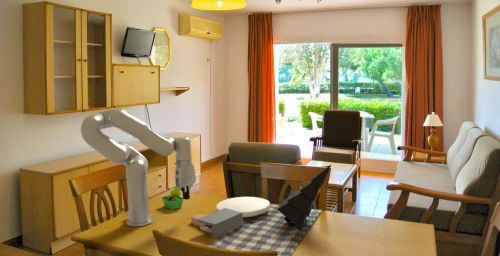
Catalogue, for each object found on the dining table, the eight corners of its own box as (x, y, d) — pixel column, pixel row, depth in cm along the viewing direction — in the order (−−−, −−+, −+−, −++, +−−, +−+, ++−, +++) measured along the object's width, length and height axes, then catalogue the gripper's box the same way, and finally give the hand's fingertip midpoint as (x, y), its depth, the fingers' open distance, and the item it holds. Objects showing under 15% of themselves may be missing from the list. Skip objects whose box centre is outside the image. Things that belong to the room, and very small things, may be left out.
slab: (191, 223, 206) (191, 216, 206) (201, 220, 210) (201, 213, 210) (205, 230, 197) (205, 222, 197) (215, 226, 201) (215, 219, 201)
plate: (210, 211, 208) (219, 195, 234) (212, 224, 209) (221, 207, 235) (267, 206, 205) (270, 191, 231) (269, 219, 206) (271, 202, 232)
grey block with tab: (194, 232, 194) (193, 218, 193) (221, 220, 209) (221, 207, 208) (215, 238, 186) (215, 224, 185) (242, 225, 201) (242, 212, 200)
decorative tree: (297, 236, 196) (343, 178, 186) (271, 216, 198) (315, 158, 188) (302, 224, 210) (345, 170, 200) (278, 206, 212) (319, 151, 202)
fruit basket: (161, 206, 232) (160, 186, 230) (174, 202, 238) (174, 183, 236) (172, 211, 223) (171, 190, 222) (186, 207, 229) (185, 187, 228)
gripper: (177, 166, 199) (180, 204, 201) (200, 160, 210) (202, 196, 213) (167, 164, 203) (169, 201, 206) (189, 158, 215) (191, 193, 218)
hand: (186, 198), depth 209 cm, fingers closed
